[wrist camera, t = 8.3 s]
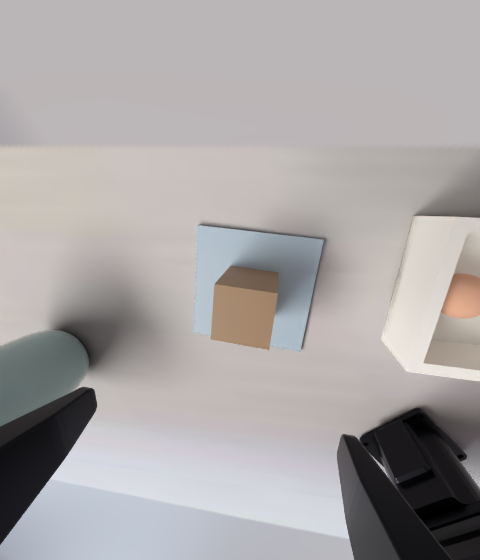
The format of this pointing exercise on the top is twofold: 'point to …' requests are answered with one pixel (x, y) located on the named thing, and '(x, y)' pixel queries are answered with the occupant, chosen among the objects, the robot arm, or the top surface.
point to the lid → (254, 286)
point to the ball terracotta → (462, 297)
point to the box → (435, 300)
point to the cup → (39, 371)
